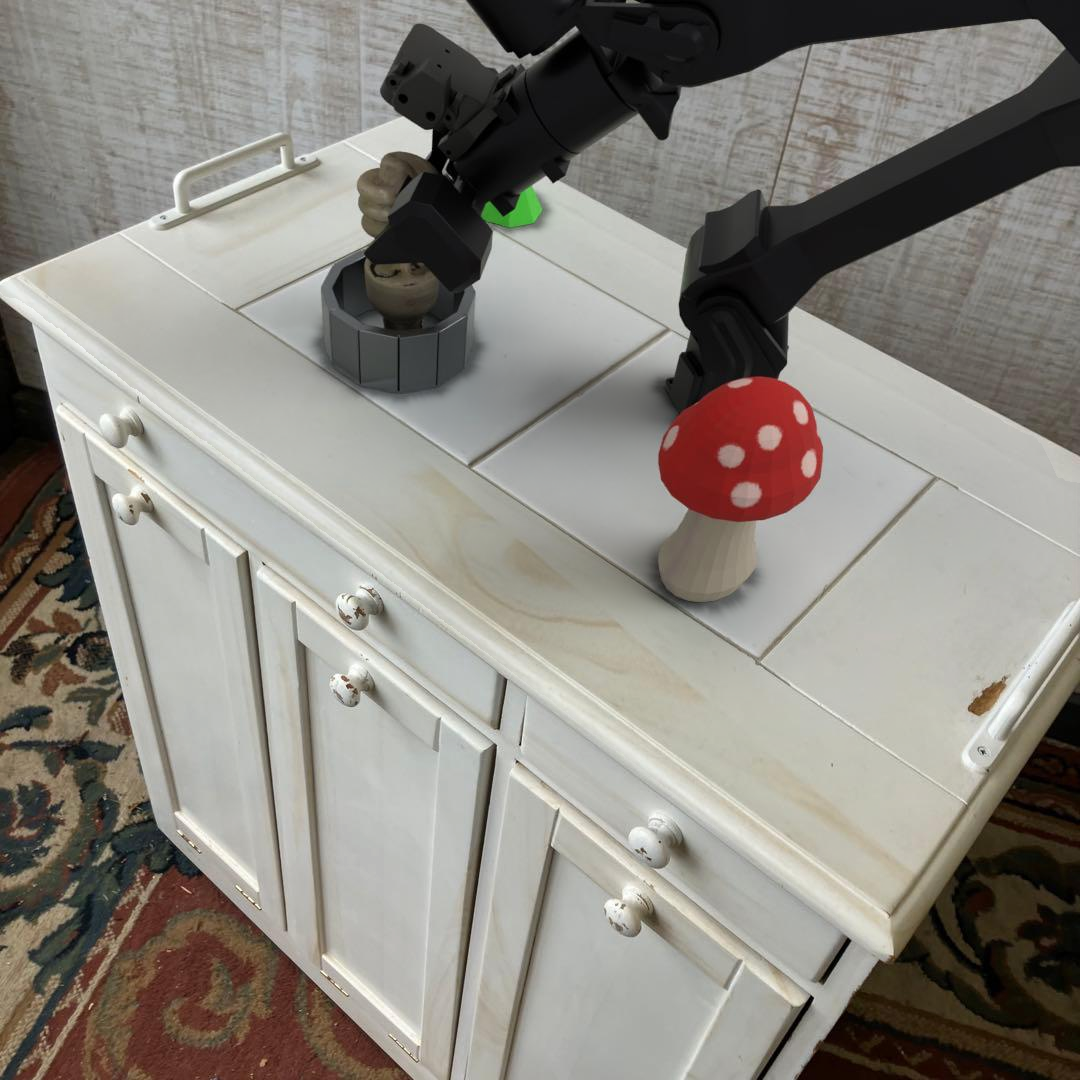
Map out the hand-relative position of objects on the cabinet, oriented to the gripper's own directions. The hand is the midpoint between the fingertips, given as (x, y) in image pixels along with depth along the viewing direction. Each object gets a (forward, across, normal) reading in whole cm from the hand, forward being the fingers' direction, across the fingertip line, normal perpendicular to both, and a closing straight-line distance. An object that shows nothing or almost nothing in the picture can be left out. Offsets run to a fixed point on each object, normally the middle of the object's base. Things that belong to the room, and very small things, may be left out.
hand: (380, 235), depth 74 cm
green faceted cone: (+3, -21, +10) cm, 23 cm away
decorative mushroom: (-11, +16, +25) cm, 32 cm away
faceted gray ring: (+6, 0, +7) cm, 9 cm away
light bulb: (+6, 0, +8) cm, 9 cm away
